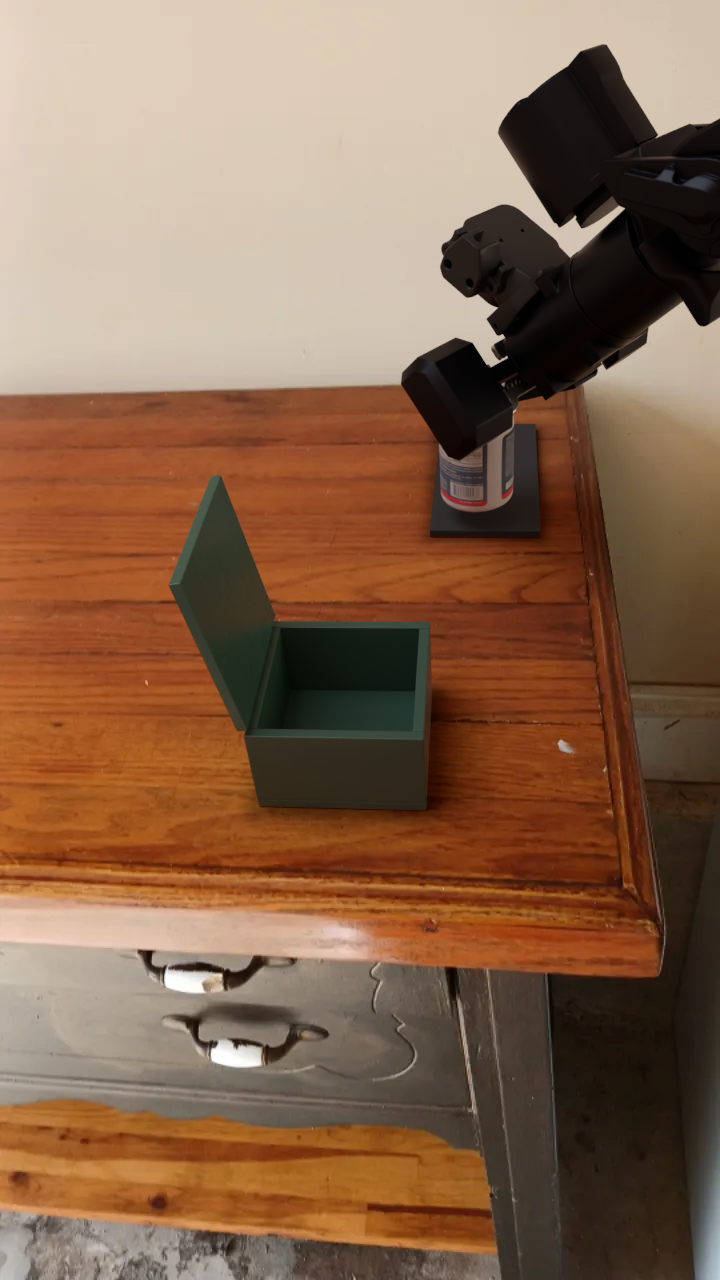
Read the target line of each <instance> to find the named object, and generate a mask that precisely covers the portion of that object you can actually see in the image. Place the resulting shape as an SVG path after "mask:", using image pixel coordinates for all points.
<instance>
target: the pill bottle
mask: <svg viewBox="0 0 720 1280" xmlns="http://www.w3.org/2000/svg"><path fill="white" fill-rule="evenodd" d="M502 386H503V387H504V386H505V382H504V383H502ZM514 424H515V416H514V415H513V426H512V428H510V429H509V430H507V431H505V432H504V433H502V434H501V435H499V436H498V437H496V438H495V439H493V440H492V441H490V442H489V443H488V444H486V445H484V446H483V447H481V448H479V449H478V450H476V451H475V452H473V453H471V454H470V455H468V456H467V457H465V458H463V459H462V460H460V461H458V460H455V459H453V458H450V457H448V456H447V455H446V453H445V451H444V450H443V448H442V447H441V445H440V444H439V443H438V449H439V457H440V487H441V495H442V498H443V500H444V501H445V502H446V503H447V504H448V505H449V506H451V507H453V508H455V509H458V510H461V511H466V512H484V511H489V510H493V509H496V508H498V507H500V506H502V505H504V504H505V503H506V502H507V501H508V500H509V499H510V498H511V496H512V493H513V475H514Z"/></svg>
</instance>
